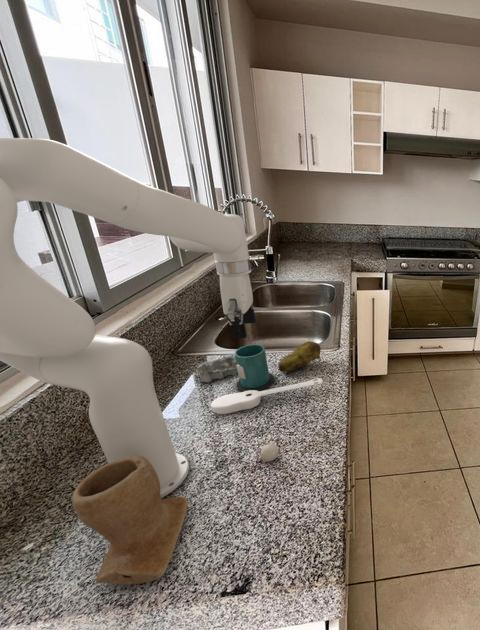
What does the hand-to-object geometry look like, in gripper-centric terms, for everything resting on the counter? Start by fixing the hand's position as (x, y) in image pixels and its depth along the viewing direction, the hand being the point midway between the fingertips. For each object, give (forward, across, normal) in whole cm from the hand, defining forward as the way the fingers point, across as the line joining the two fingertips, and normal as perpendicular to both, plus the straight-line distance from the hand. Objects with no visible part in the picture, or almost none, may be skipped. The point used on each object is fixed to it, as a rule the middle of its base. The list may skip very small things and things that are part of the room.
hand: (244, 330), depth 90 cm
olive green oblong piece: (+19, -11, +11) cm, 24 cm away
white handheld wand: (+19, +5, +5) cm, 20 cm away
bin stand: (+19, -4, -1) cm, 19 cm away
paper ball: (+18, +27, +9) cm, 34 cm away
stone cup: (+20, +43, -8) cm, 48 cm away
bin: (+19, -4, -1) cm, 19 cm away
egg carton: (+19, -11, -13) cm, 25 cm away
